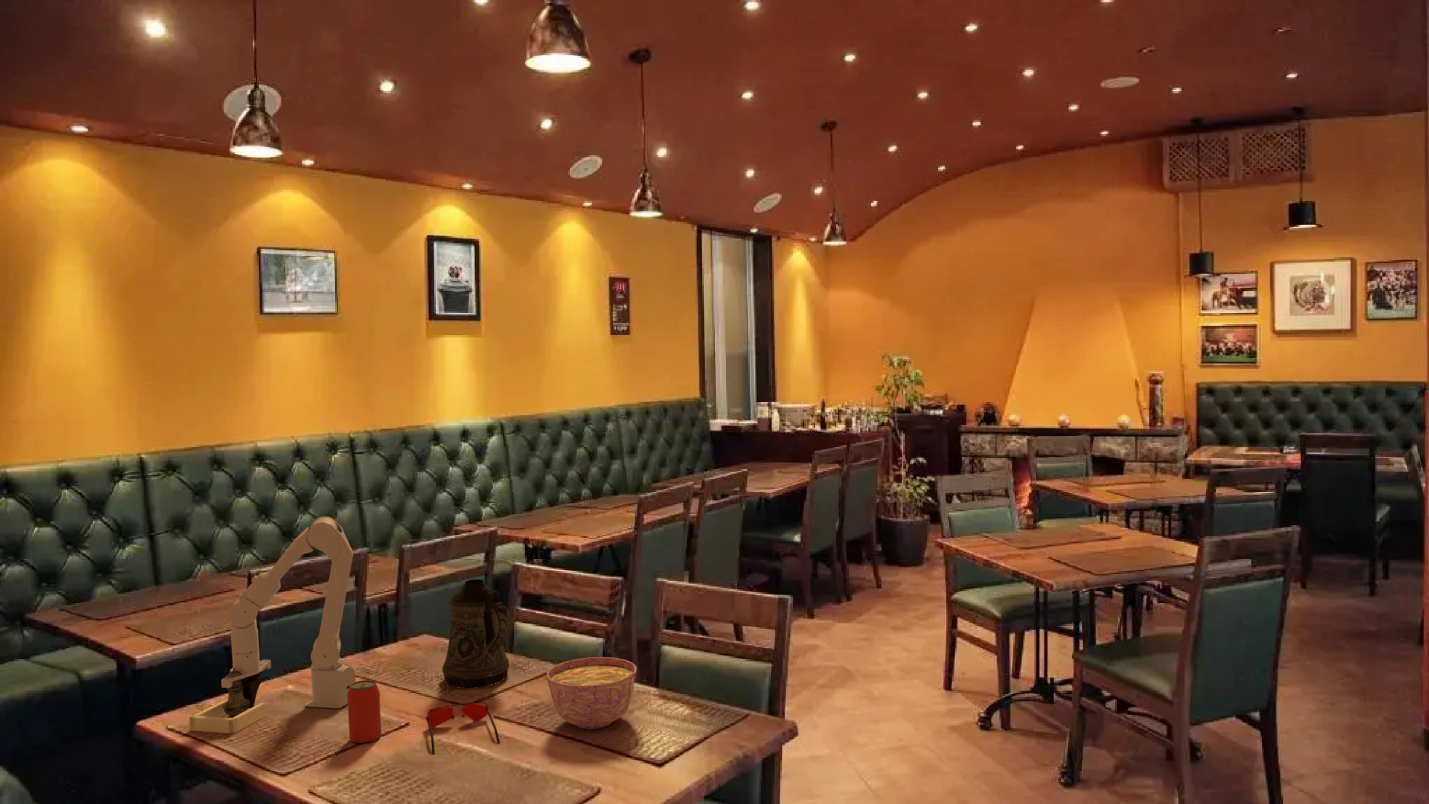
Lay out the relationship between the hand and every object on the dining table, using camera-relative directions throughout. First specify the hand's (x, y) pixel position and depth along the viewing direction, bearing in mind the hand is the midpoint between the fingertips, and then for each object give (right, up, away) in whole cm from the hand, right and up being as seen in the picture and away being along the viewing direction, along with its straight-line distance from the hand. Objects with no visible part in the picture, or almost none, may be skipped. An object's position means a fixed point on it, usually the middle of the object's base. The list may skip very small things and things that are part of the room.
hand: (248, 708), depth 239 cm
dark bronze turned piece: (-1, -2, -4) cm, 4 cm away
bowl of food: (+82, 0, -13) cm, 83 cm away
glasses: (+54, -1, -18) cm, 57 cm away
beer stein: (+50, +1, +20) cm, 54 cm away
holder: (-2, -2, -7) cm, 7 cm away
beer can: (+34, -1, -18) cm, 38 cm away
